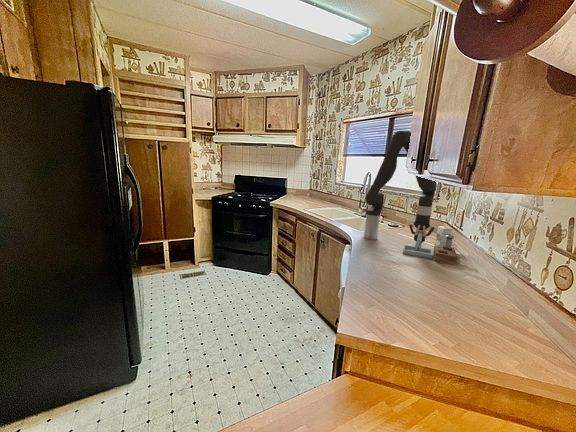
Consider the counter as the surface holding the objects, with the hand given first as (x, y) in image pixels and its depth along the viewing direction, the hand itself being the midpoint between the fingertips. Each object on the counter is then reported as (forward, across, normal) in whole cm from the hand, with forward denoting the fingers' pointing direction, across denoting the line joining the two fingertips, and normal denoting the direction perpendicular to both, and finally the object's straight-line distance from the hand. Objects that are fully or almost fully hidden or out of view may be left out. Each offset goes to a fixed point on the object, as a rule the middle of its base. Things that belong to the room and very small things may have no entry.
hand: (418, 241), depth 147 cm
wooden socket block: (+8, -14, 0) cm, 16 cm away
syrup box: (+8, -14, -19) cm, 25 cm away
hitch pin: (+6, 0, 0) cm, 6 cm away
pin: (+8, -16, -4) cm, 18 cm away
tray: (+8, 0, 0) cm, 8 cm away
